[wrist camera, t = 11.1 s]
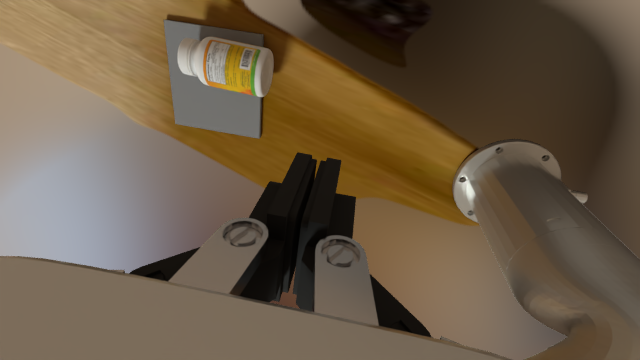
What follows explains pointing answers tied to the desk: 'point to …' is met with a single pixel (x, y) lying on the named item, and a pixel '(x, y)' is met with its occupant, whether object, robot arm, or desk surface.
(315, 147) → the desk surface
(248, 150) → the desk surface
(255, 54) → the supplement bottle
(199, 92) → the rubber mat
